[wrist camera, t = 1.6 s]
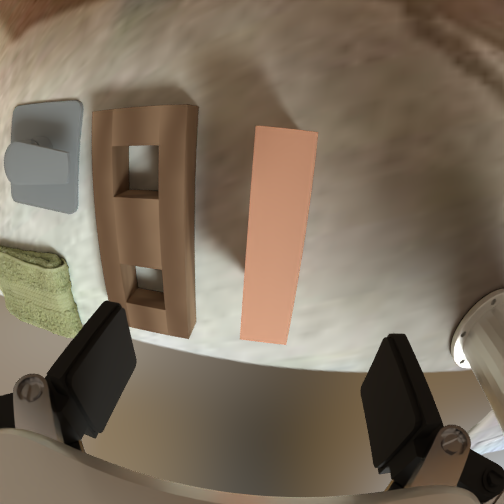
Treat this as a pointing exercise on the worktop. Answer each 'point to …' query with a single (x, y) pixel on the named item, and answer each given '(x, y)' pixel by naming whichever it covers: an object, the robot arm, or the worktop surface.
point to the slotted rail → (148, 214)
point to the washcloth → (39, 290)
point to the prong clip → (276, 230)
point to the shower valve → (45, 155)
